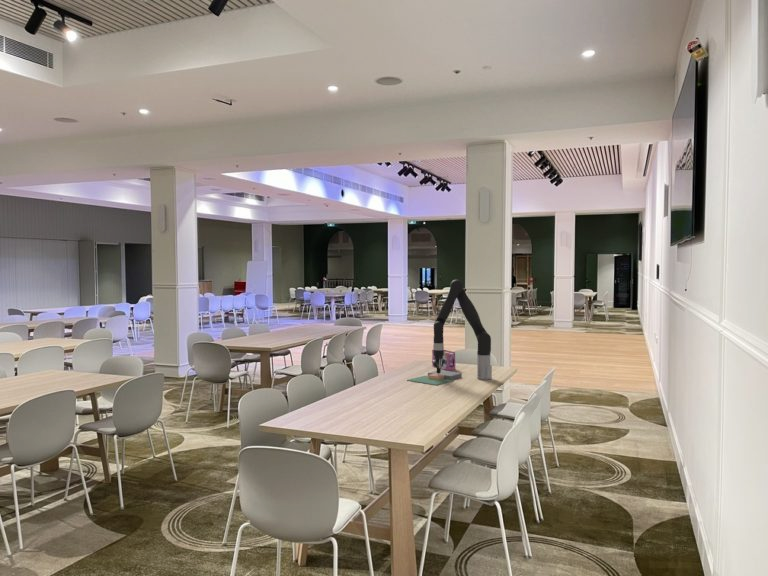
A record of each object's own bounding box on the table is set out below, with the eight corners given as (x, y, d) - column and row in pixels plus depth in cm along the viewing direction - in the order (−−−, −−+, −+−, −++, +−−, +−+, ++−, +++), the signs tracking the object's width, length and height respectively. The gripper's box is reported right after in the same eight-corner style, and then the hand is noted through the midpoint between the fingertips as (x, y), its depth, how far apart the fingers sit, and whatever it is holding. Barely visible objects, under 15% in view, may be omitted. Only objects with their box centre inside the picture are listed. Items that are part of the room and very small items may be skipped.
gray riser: (461, 377, 411) (461, 373, 411) (450, 380, 401) (450, 376, 401) (439, 374, 425) (439, 370, 425) (427, 376, 414) (427, 372, 414)
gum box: (456, 369, 443) (456, 352, 442) (448, 370, 439) (448, 353, 439) (440, 365, 464) (440, 348, 463) (431, 366, 460) (431, 349, 460)
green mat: (453, 380, 398) (453, 380, 398) (436, 385, 384) (436, 384, 384) (424, 376, 416) (424, 375, 416) (406, 380, 401) (406, 379, 401)
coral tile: (444, 378, 404) (444, 375, 404) (438, 380, 399) (438, 376, 399) (434, 377, 410) (434, 373, 410) (428, 378, 405) (428, 375, 405)
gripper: (437, 350, 400) (437, 375, 400) (448, 348, 409) (448, 372, 410) (428, 349, 405) (428, 373, 405) (439, 347, 414) (439, 371, 415)
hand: (438, 373), depth 408 cm, fingers closed
